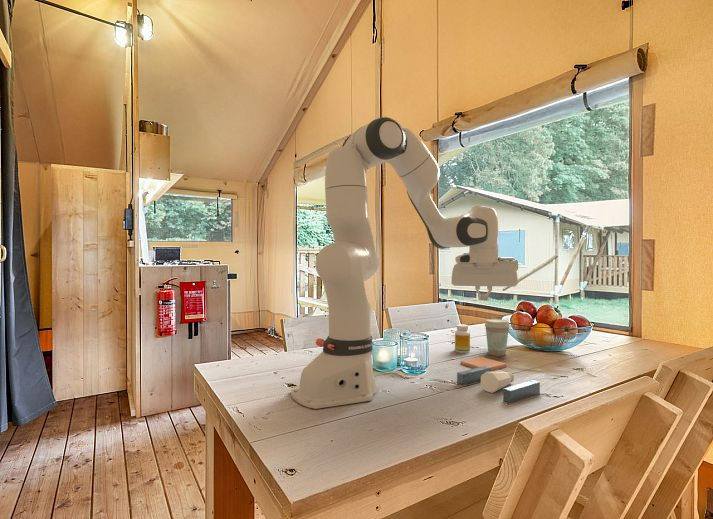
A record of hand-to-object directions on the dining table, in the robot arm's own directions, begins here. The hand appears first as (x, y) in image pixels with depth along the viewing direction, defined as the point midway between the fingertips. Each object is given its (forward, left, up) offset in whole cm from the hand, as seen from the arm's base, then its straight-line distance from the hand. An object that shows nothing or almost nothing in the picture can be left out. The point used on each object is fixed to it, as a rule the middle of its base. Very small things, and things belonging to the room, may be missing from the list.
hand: (483, 300), depth 124 cm
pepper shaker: (-18, -17, -19) cm, 31 cm away
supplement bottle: (+8, +16, -21) cm, 28 cm away
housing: (-14, -16, -21) cm, 30 cm away
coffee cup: (+16, +7, -21) cm, 27 cm away
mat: (0, 0, -21) cm, 21 cm away
